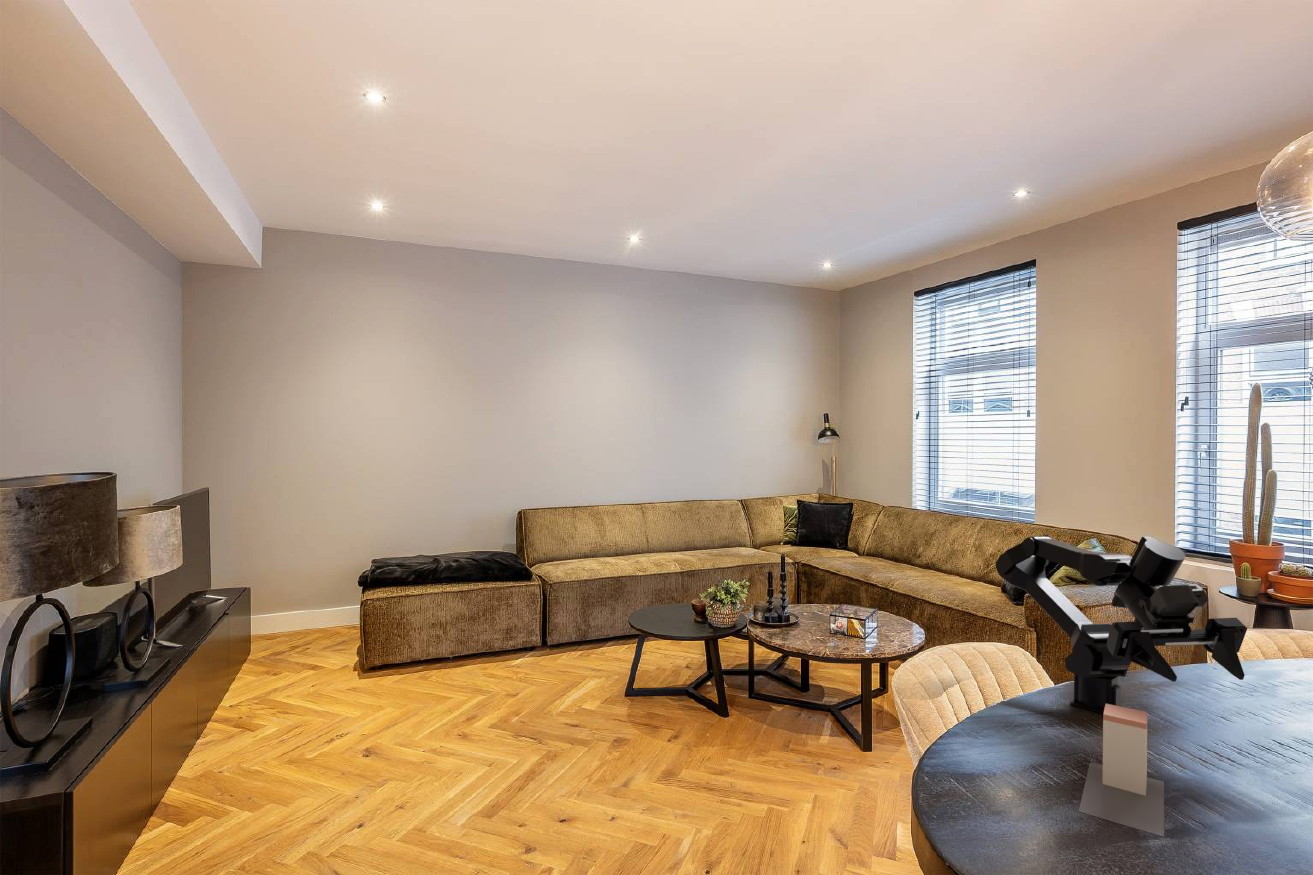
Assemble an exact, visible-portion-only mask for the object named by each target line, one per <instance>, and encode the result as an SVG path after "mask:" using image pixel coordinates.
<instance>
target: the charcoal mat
mask: <svg viewBox="0 0 1313 875" xmlns="http://www.w3.org/2000/svg"><path fill="white" fill-rule="evenodd" d="M1084 782H1085V783H1084V786H1083V791H1082V795H1081V799H1080V804H1079V807H1078V812H1080V813H1083V814H1087V815H1089V816H1092V817H1095V818H1096V817H1097V818H1099V819H1102V820H1106V821H1109V822H1112V823H1116V824H1120V825H1122V826H1124V827H1125V826H1126V827H1129V828H1132V829H1136V830H1139V831H1143V832H1147V833H1148V834H1153V835H1155V836H1159V837H1162V838H1165V781H1163V780H1159V779H1155V778H1150V777H1148V776H1147V784H1146V796H1145V795H1141V794H1137V793H1134V792H1130V791H1126V790H1123V789H1119V788H1116V787H1112V786H1108V785H1105V784H1103V764H1097V763H1094V762H1089V765H1088V769H1087V774H1086V778H1085V781H1084Z"/></svg>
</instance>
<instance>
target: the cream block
mask: <svg viewBox="0 0 1313 875" xmlns="http://www.w3.org/2000/svg"><path fill="white" fill-rule="evenodd" d="M1102 716H1103V719H1102V722H1103V723H1102V737H1103V738H1102V766H1103V784H1105V785H1108V786H1112V787H1116V788H1119V789H1123V790H1126V791H1130V792H1134V793H1137V794H1141V795H1145V796H1146V784H1147V777H1148V772H1147V771H1148V768H1147V767H1148V766H1147V764H1148V763H1147V762H1148V712H1147V711H1143V710H1139V709H1133V708H1129V707H1123V706H1121V707H1120V706H1115V705H1111V704H1105V709H1104V713H1103V714H1102Z"/></svg>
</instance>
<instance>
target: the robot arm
mask: <svg viewBox="0 0 1313 875" xmlns="http://www.w3.org/2000/svg"><path fill="white" fill-rule="evenodd" d="M1186 557H1187V556H1186V554H1185V552H1184V551H1183V550H1182V549H1181V548H1180V547H1178V546H1176V545H1175V546H1174V545H1172V544H1170V543H1168V542H1166V541H1162V540H1157V539H1156V538H1155V537H1153V536H1142V537H1141V538H1140V539H1139V542H1138V545H1137V547H1136V549H1135V551H1134V552H1133V555H1132V556H1131V555H1128V554H1124V553H1114V552H1101V551H1100V552H1098V551H1091V550H1088V549H1085V548H1082V547H1078V546H1075V545H1073V544H1068V543H1065V542H1063V541H1059V540H1055V539H1053V538H1051V537H1049V536H1043V535H1042V536H1041V535H1039V536H1037V535H1036V536H1034V535H1033V536H1032V535H1031V536H1028V537H1026V538H1024V540H1023V541H1021V542H1020V543H1018V544H1016V545H1015V546H1013V547H1011V548H1008V549H1007V550H1006V551H1004V552H1003V553H1001V554H1000V555H999V557H998V558H997V559H996V561H995V562H996V563H995V568H996V571H997V574H998V576H1000V578H1001V579H1003V580H1004V581H1006V582H1007V583H1008V584H1010V585H1011V586H1014V587H1016V588H1019V589H1020V590H1021V589H1022V590H1023V591H1025V592H1026V593H1027V594H1028V595H1029V596H1030V597H1031V598H1032V599H1033V601H1035V602H1036V603H1037V604H1038V605H1039V606H1040V607H1041V609H1042V610H1043V611H1044V612H1045V613H1046V615H1048V616H1049V617H1050V618H1051V619H1052V621H1053V622H1055V623H1056V624H1057V626H1058V627H1060V629H1061V630H1062V631H1063V632H1064V633H1065V634H1066V635H1067V637H1068V638H1070V646H1071V647H1070V648H1071V653H1070V654H1068V655H1067V656H1066V657H1064V663H1065V668H1066V671H1067V672H1070V673H1073V698H1072V699H1071V700H1069V701H1070V702H1069V704H1070V705H1072V706H1076V707H1079V708H1081V709H1085V710H1089V711H1092V712H1095V713H1099V714H1102V715H1103V713H1104V709H1105V704H1111V705H1115V706H1120V707H1122V704H1121V703H1122V701H1121V700H1122V687H1121V685H1119V682H1118V679H1119V678H1118V677H1121V678H1124V677H1126V676H1127V673H1128V671H1129V668H1130V666H1131V663H1133V664H1136V665H1139V666H1140V667H1142V668H1144V669H1147V670H1150V671H1151V672H1153V673H1155V674H1157V675H1158V676H1161V677H1163V678H1165V679H1166V680H1169V681H1170V682H1172V683H1175V682H1177V679H1178V675H1177V674H1176V672H1175V671H1174V670H1173V668H1172V666H1171V665H1170V664H1169V663H1168V662H1167V660H1166V659H1165V657H1164V656H1163V655H1162V654H1161V652H1160V651H1159V650H1158V649H1157V647H1164V646H1165V647H1166V646H1185V645H1186V646H1187V645H1188V646H1189V645H1202V646H1203V648H1204V649H1205V650H1206V651H1207V652H1208V653H1210V654H1211V655H1210V657H1211V659H1212V660H1215V662H1217V663H1218V664H1219V665H1220V666H1221V667H1222V668H1223V669H1225V670H1226V671H1227V672H1229V674H1230V675H1231V676H1234V677H1235V678H1236V679H1238V680H1240V681H1243V680H1244V679H1245V676H1246V675H1245V672H1244V669H1243V666H1242V664H1241V661H1240V658H1239V654H1238V653H1239V652H1240V650H1241V647H1242V644H1243V642H1244V639H1245V636H1246V633H1247V630H1248V627H1247V626H1246V625H1245V624H1244V623H1243V622H1242V621H1241V620H1240V619H1239V618H1237V617H1218V618H1216V617H1215V618H1207V621H1206V624H1205V627H1204V629H1203V628H1202V629H1198V628H1197V629H1192V628H1191V626H1190V624H1193V623H1194V620H1195V616H1194V615H1193V614H1192V612H1193V611H1194V610H1195V609H1196V608H1197V607H1198V608H1199V607H1200V608H1201V607H1204V606H1205V605H1206V603H1207V602H1208V601H1209V597H1208V594H1207V592H1206V591H1205V589H1203V588H1202V587H1201V586H1200V585H1198V584H1196V583H1195V584H1194V583H1193V584H1190V583H1189V584H1175V585H1172V584H1171V583H1172V582H1173V579H1174V578H1175V576H1176V574H1178V571H1179V570H1180V567H1181V566H1182V564H1183V562H1184V561H1185V559H1186ZM1049 562H1052V563H1055V564H1058V565H1060V566H1061V565H1062V566H1064V567H1066V568H1069V569H1072V570H1075V571H1077V572H1078V573H1079V574H1080V576H1081V577H1082V578H1083V579H1084V580H1086V581H1088V583H1089V582H1090V583H1091V584H1093V585H1094V586H1097V587H1115V586H1116V589H1115V591H1114V592H1113V597H1112V600H1111V606H1112V607H1115V608H1121V609H1127V610H1128V611H1129V612H1130V614H1131V615H1132V616H1133V617H1134V621H1113V622H1112V623H1111V624H1110V623H1107V622H1106V623H1093V622H1092V621H1091V620H1090V619H1089V618H1088V617H1087V616H1086V615H1085V614H1084V613H1083V612H1082V611H1081V610H1079V608H1078V607H1076V605H1075V604H1074V603H1072V601H1071V600H1069V598H1067V597H1066V596H1065V595H1064V593H1062V592H1061V591H1060V590H1059V588H1058V587H1057V586H1056V585H1054V584H1053V583H1052V582H1051V581H1050V580H1049V579H1048V578H1047V577H1046V576H1047V575H1046V566H1048V565H1049Z"/></svg>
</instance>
